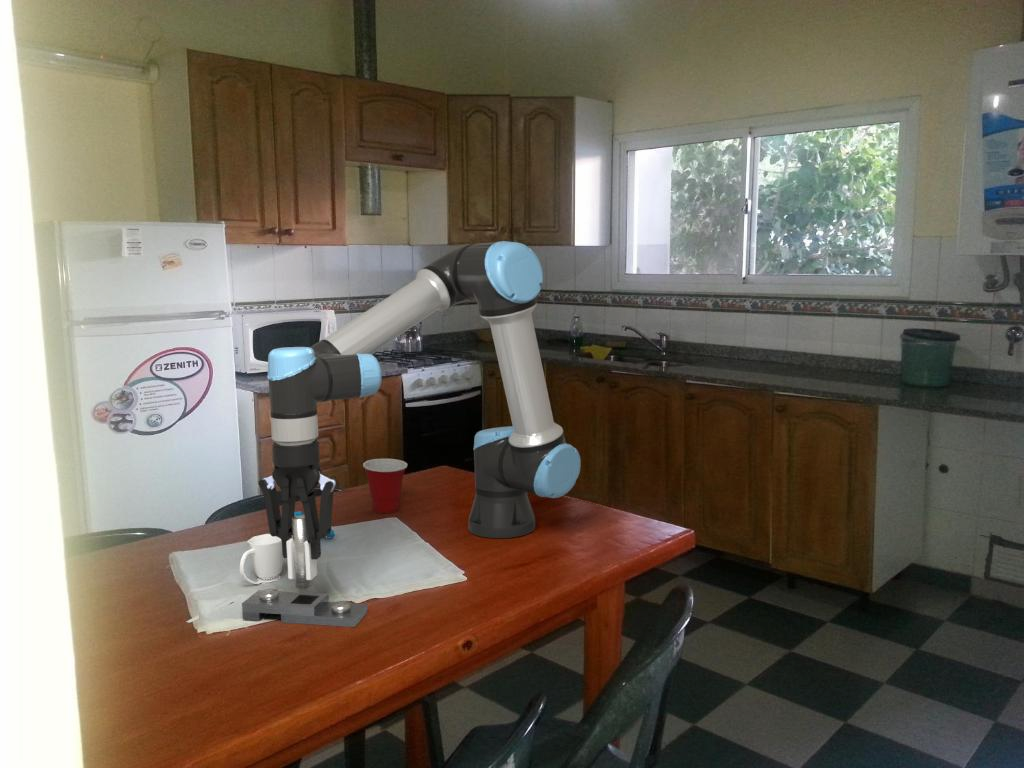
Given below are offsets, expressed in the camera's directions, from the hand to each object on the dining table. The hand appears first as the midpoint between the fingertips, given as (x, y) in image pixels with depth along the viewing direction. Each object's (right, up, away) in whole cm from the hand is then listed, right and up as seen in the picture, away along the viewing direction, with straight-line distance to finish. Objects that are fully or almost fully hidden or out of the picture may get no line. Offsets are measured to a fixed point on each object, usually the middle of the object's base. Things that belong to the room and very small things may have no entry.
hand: (302, 576), depth 141 cm
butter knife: (-19, -8, -1) cm, 21 cm away
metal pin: (0, -2, 0) cm, 2 cm away
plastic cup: (+5, +1, +64) cm, 64 cm away
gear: (-8, -2, +41) cm, 42 cm away
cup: (-12, -5, +17) cm, 22 cm away
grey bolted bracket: (0, -7, +1) cm, 7 cm away
